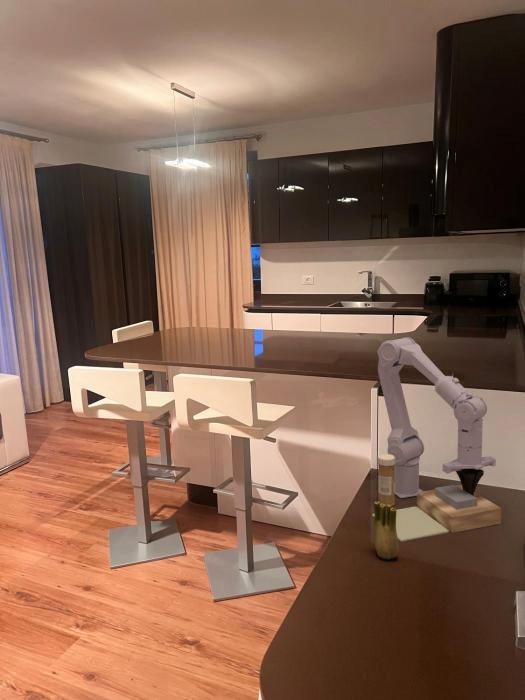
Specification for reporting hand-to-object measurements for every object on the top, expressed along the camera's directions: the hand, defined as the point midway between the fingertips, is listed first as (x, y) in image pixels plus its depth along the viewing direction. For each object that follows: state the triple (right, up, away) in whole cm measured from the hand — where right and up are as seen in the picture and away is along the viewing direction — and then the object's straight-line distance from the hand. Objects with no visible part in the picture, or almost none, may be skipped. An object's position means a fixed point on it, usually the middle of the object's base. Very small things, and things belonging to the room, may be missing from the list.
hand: (468, 495), depth 130 cm
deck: (-3, -5, 0) cm, 6 cm away
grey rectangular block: (-4, -1, -1) cm, 4 cm away
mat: (-17, -6, -4) cm, 18 cm away
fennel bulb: (-26, -8, -18) cm, 32 cm away
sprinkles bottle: (-19, -5, +8) cm, 21 cm away
